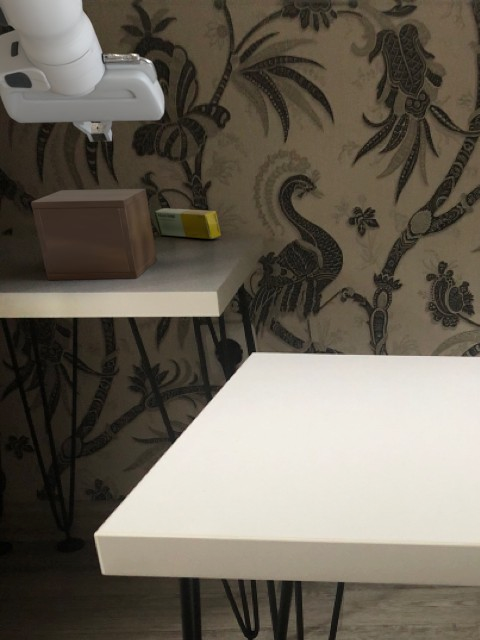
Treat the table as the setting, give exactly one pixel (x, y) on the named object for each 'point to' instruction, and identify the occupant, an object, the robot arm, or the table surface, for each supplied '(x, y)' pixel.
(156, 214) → the medication box
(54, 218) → the wooden box
